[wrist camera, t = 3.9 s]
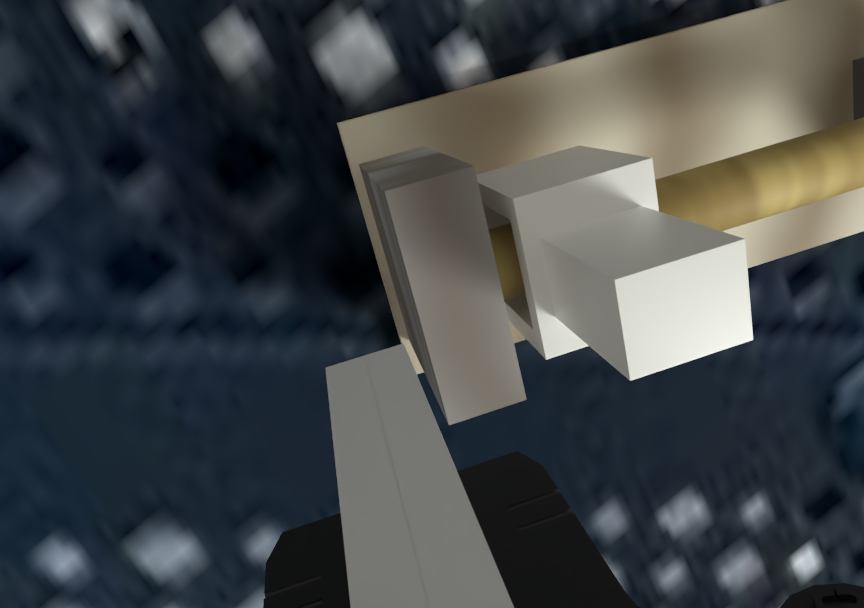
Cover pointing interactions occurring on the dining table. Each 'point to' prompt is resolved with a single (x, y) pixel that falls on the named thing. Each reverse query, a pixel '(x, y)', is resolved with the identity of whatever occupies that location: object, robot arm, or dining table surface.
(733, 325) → the sleeve
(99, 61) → the dining table surface
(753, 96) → the lead screw slide rig
